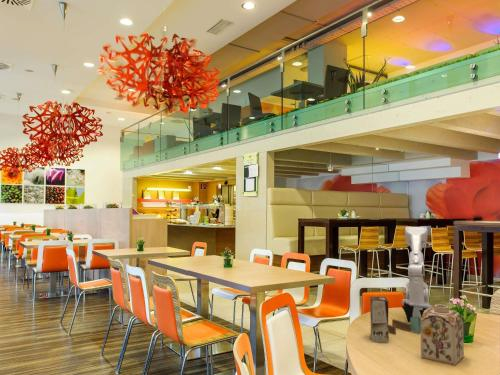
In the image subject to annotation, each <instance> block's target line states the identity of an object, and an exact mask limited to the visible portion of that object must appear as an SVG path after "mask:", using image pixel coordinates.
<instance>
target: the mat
mask: <svg viewBox="0 0 500 375" xmlns="http://www.w3.org/2000/svg"><path fill="white" fill-rule="evenodd" d="M409 332H411V333H414V334H418V335H419V334H421V331H415V330H412V329H410V331H409Z"/></svg>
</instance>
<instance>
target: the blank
mask: <svg viewBox="0 0 500 375" xmlns="http://www.w3.org/2000/svg"><path fill="white" fill-rule="evenodd" d="M409 324H410V329H412V330H415V331H421V317H420V316H416V317H410V322H409Z"/></svg>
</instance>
